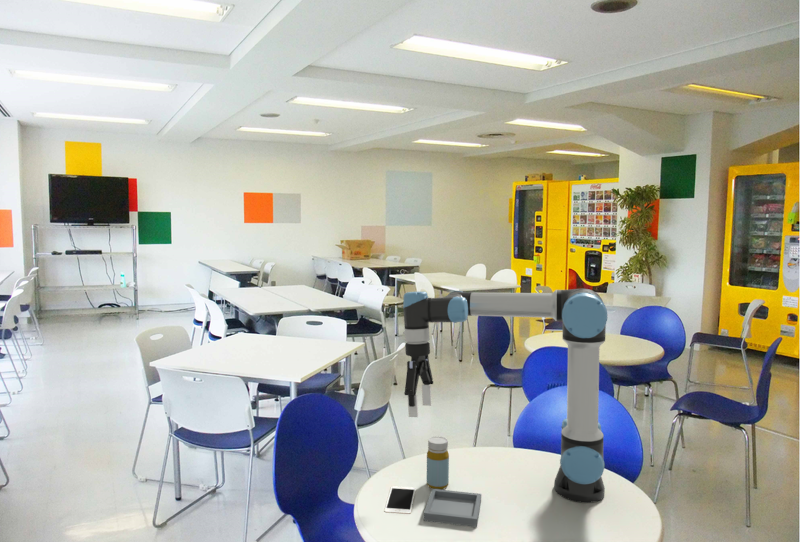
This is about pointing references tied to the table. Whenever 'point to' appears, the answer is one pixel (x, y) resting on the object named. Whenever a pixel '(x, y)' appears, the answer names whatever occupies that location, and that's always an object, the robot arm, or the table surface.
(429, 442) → the bottle
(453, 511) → the tray
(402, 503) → the cell phone
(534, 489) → the table surface
